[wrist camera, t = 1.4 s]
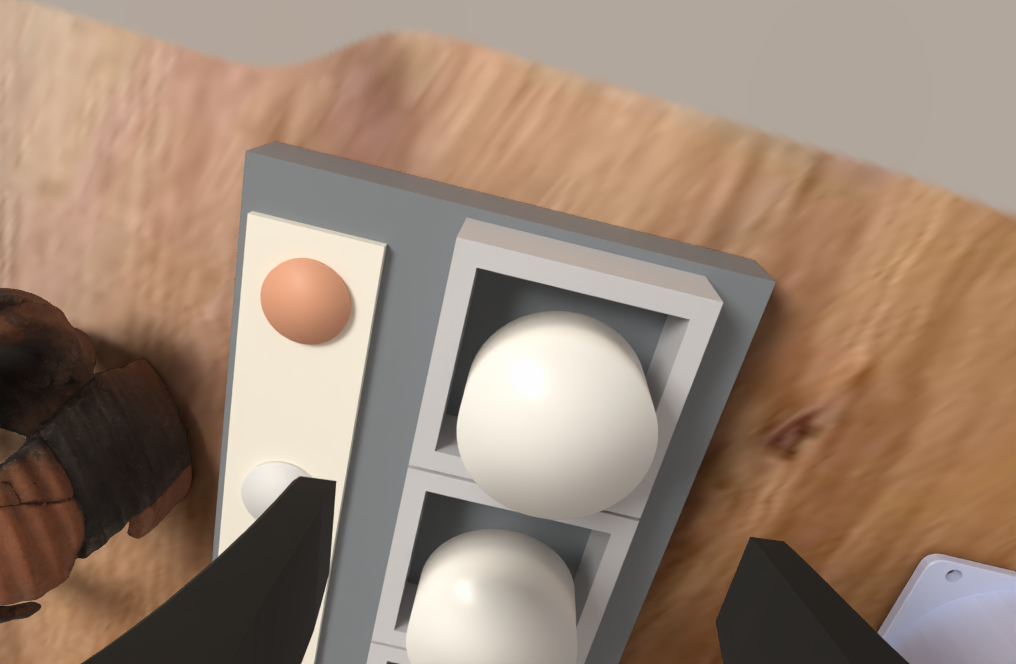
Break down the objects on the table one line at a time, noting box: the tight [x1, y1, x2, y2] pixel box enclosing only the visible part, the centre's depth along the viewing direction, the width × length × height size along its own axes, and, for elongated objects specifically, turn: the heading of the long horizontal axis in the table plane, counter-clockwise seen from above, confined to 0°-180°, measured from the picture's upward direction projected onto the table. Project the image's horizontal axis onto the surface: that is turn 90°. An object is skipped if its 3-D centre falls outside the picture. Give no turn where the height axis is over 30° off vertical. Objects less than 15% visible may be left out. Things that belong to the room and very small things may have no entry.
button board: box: [212, 141, 776, 664], centre depth 21 cm, size 14×20×4 cm
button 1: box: [457, 311, 658, 519], centre depth 16 cm, size 4×4×2 cm
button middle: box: [406, 529, 578, 664], centre depth 18 cm, size 4×4×2 cm
